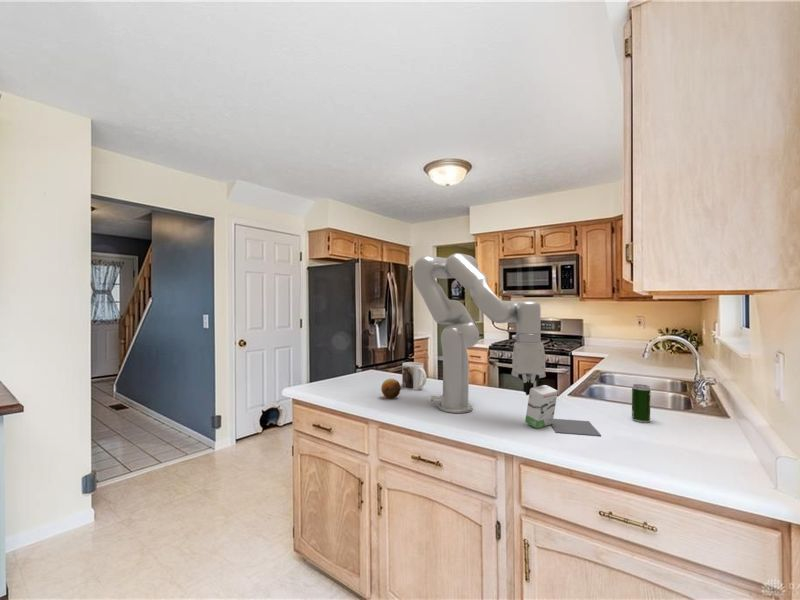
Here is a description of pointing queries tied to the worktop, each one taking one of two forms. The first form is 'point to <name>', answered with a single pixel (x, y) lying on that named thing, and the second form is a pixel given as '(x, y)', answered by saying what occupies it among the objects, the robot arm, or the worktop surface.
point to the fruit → (391, 388)
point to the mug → (413, 376)
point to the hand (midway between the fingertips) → (528, 394)
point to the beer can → (641, 403)
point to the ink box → (541, 406)
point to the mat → (574, 427)
